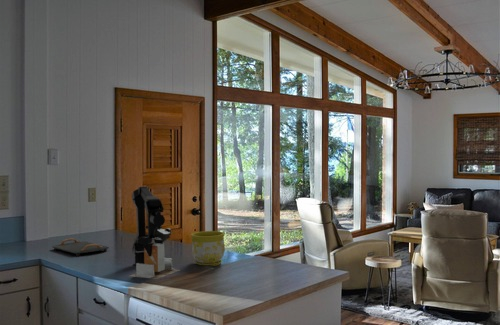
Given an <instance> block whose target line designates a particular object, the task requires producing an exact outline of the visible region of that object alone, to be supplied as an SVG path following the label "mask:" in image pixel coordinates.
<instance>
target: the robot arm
mask: <svg viewBox="0 0 500 325" xmlns="http://www.w3.org/2000/svg"><path fill="white" fill-rule="evenodd" d="M131 200H132V204H133V205H134V207H135V211H136V213H135V214H136V236H135V237H134V240H133V241H134V242H133V245H132V248H131V250H132V254H133V255H134V263H133V264H132V265H133V266H136V263H142V264H144V248H145V249H146V251H147V253H148V255H149V256H150V257H151V254H152V245H153V244H154V243H160V244H164V243H165V242H166V241H167V240H168V239H170V237H171V235H172V229H171V228H169V227H168V228H166V229H163V227H162V226H164V224H165V221H166V218H165V216H164V215H162V213H164V209H165V208H164V205H163V203H162V201H161V199H160V198H159V197H157V196H154V195H153V193H152V192H151V191H150V187H149V186H147V185H146V186H139V187H138V188H137V189H135V190H133V192H132V193H131ZM146 213H147V214H146ZM146 216H147V225H146ZM146 229H147V232H146ZM153 241H154V242H153Z"/></svg>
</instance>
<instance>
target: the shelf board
mask: <svg viewBox="0 0 500 325" xmlns="http://www.w3.org/2000/svg"><path fill="white" fill-rule="evenodd" d="M174 269H175V270H172V271H169V270H162V271H159V272H154V277H153V278H148V279H151V280H159V279H161V278H163V277H166V276H169V275H171V274H174V273H177V272H179V271H181V269H176V268H174ZM135 275H137V273H136V272H135V273H132V274H130V275H129V277H133V278H134V276H135ZM141 278H142V277H140V279H141ZM142 279H143V278H142Z"/></svg>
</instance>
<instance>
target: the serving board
mask: <svg viewBox="0 0 500 325" xmlns="http://www.w3.org/2000/svg"><path fill="white" fill-rule="evenodd" d="M69 241H71V242H69ZM72 241H73V242H72ZM67 242H68V243H67ZM51 248H53V250H54V251H58V250H60V251H63V252H67V253H71V254H75V256H76V257H80V254H84V253H92V252H98V251H99V252H100V251H103V252H104V253H106V252H108V249H110V248H109V246H107V245H106V246H105V245H101V244H98V243H95V242H94V243H93V242H90V241H89V242H88V241H80V240H77V239H75V238H66V239H63V240H62V241H61V242H60V243H58V244H57V245H56V244H55V245H52V246H51Z"/></svg>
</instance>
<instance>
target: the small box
mask: <svg viewBox="0 0 500 325" xmlns="http://www.w3.org/2000/svg"><path fill="white" fill-rule="evenodd" d="M153 243H154V244H153V245H152V254H151V257H150V256H149V255H148V253H147V251H146V249H145V248H144V264H152V265H154V272H159V271H162V270H164V269H165V258H166V256H165V255H166V254H165V243H163V244H160V243H155V242H153Z"/></svg>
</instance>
